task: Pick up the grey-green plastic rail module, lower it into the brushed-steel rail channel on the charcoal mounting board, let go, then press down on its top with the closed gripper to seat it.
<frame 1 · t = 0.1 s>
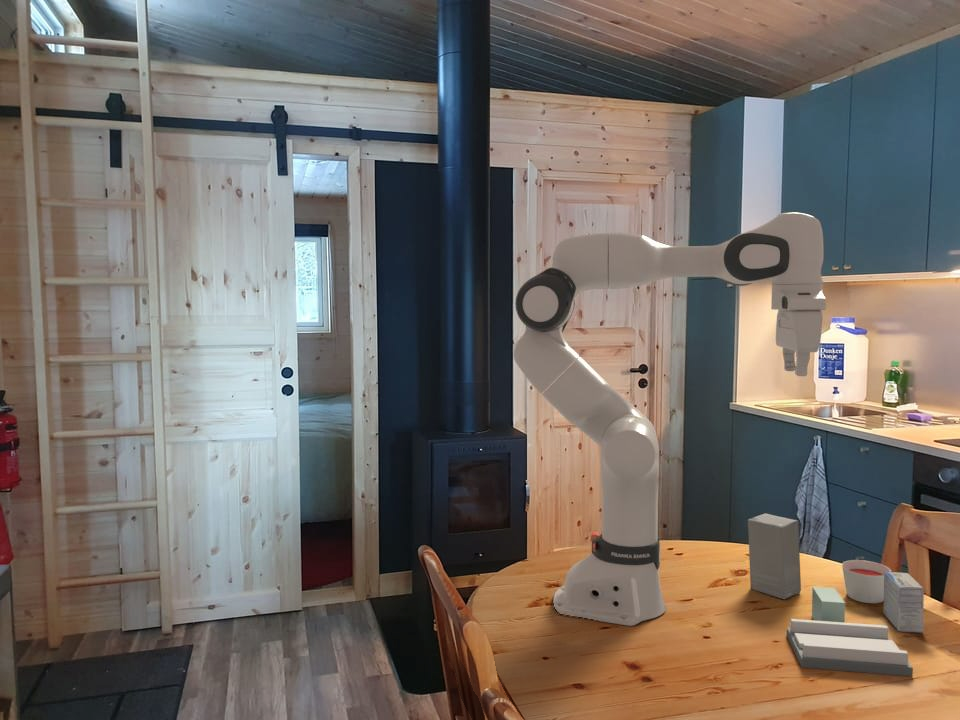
hand: (795, 373, 137), 48 cm above the table, tool pointing down, fingers open, 8 cm apart
medicine box: (902, 624, 138), on the table
rail board: (845, 654, 126), on the table
candle: (865, 598, 150), on the table
rail module: (827, 625, 138), on the table
skincare box: (773, 592, 154), on the table
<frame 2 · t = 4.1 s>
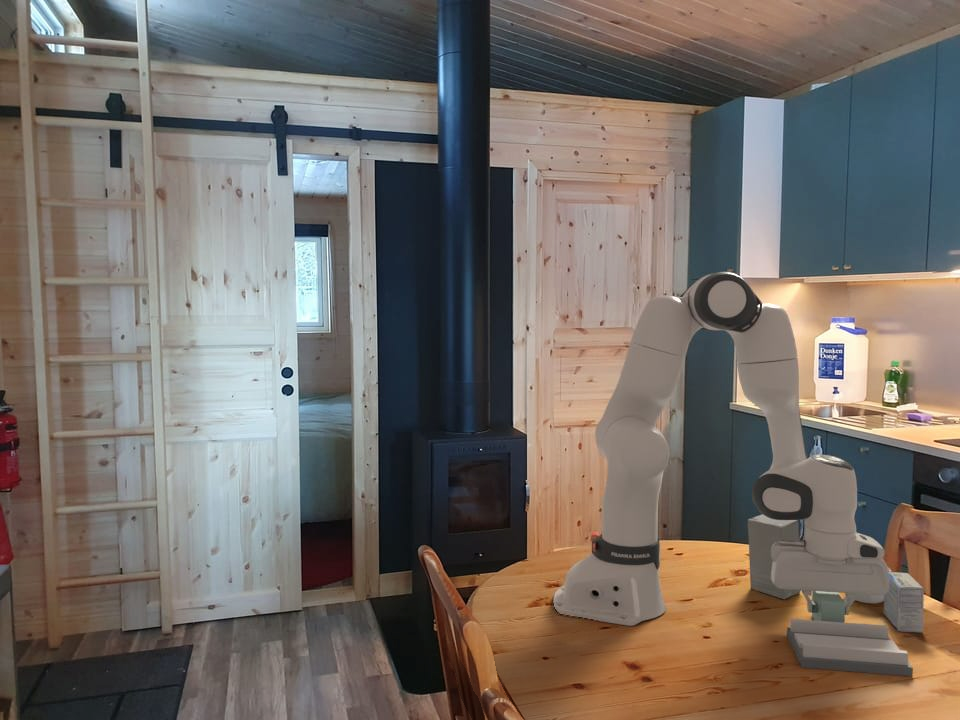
hand: (827, 612, 138), 2 cm above the table, tool pointing down, fingers closed on rail module, 4 cm apart
rail module: (827, 625, 138), on the table, touching gripper
everything else where it was.
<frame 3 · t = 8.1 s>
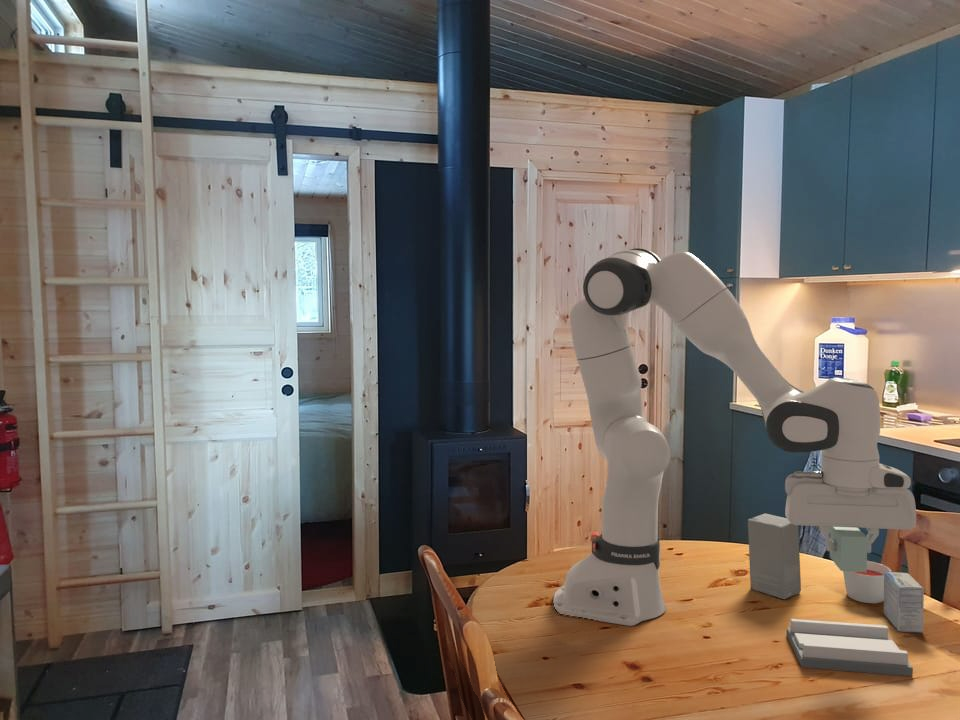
hand: (847, 551, 125), 18 cm above the table, tool pointing down, fingers closed on rail module, 4 cm apart
rail module: (847, 564, 126), point 16 cm above the table, touching gripper
everything else where it was.
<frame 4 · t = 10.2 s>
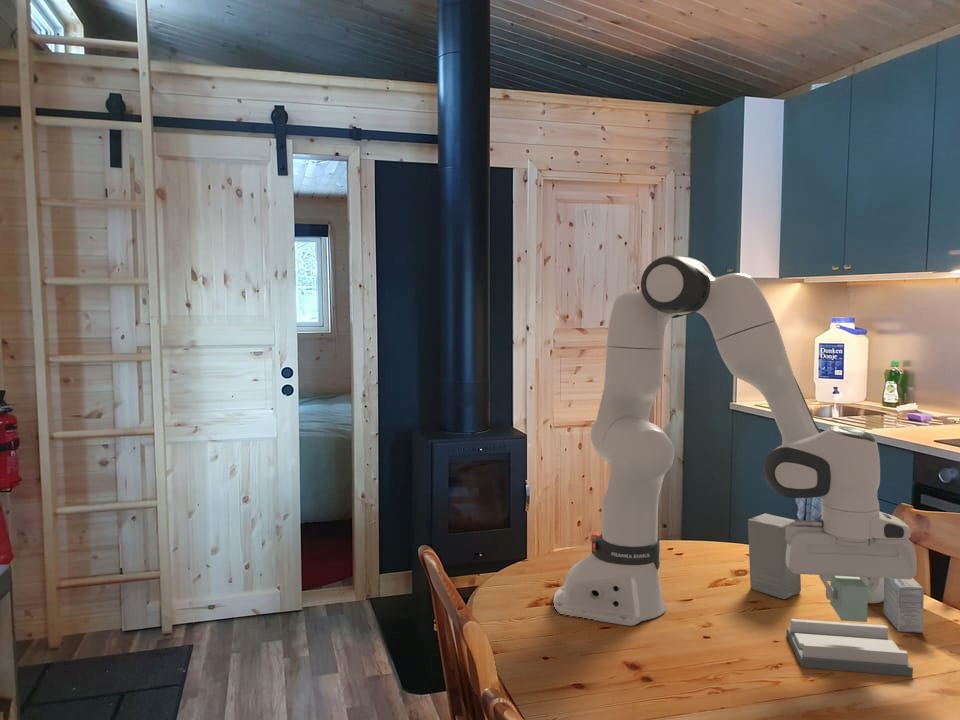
hand: (848, 599, 125), 10 cm above the table, tool pointing down, fingers closed on rail module, 4 cm apart
rail module: (848, 612, 126), point 8 cm above the table, touching gripper
everything else where it was.
when the fingers open (6 cm above the table, at t = 11.9 s): rail module drops 2 cm, resting on rail board.
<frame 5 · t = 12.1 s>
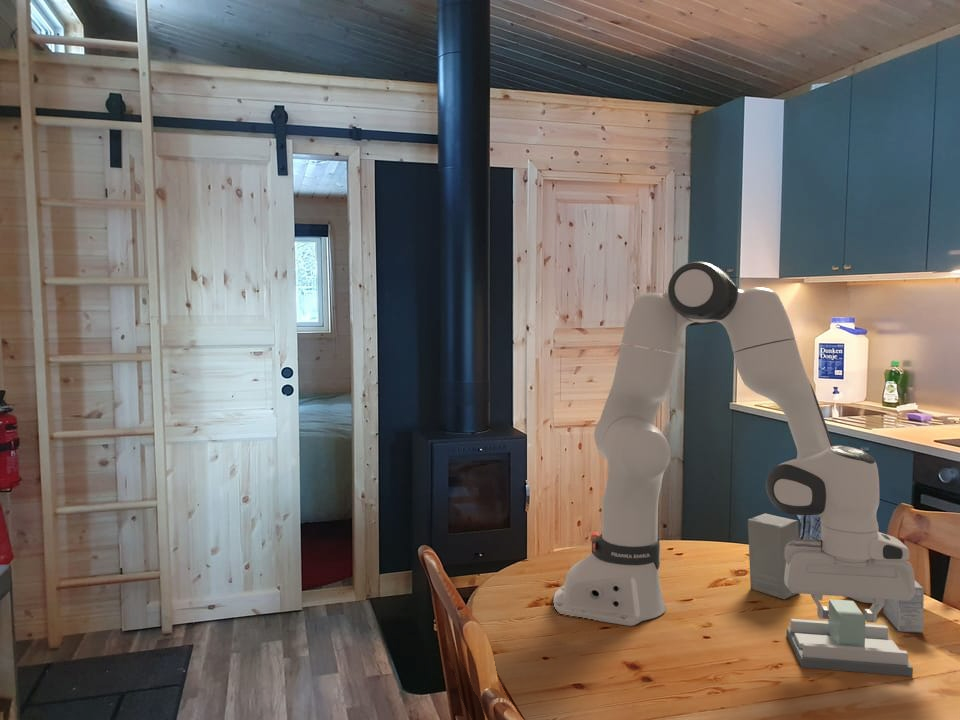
hand: (846, 619, 126), 6 cm above the table, tool pointing down, fingers open, 6 cm apart
rail module: (845, 641, 126), point 2 cm above the table, touching rail board
everything else where it was.
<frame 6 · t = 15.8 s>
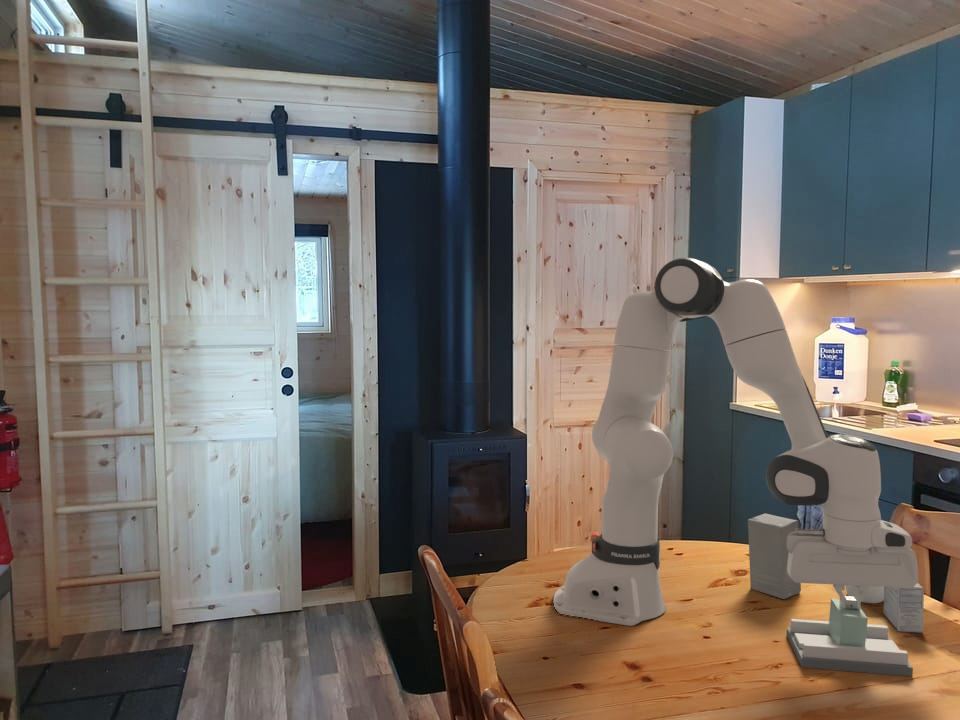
hand: (850, 608, 125), 8 cm above the table, tool pointing down, fingers closed, pressing on rail module
rail module: (845, 641, 126), point 2 cm above the table, touching gripper, rail board
everything else where it was.
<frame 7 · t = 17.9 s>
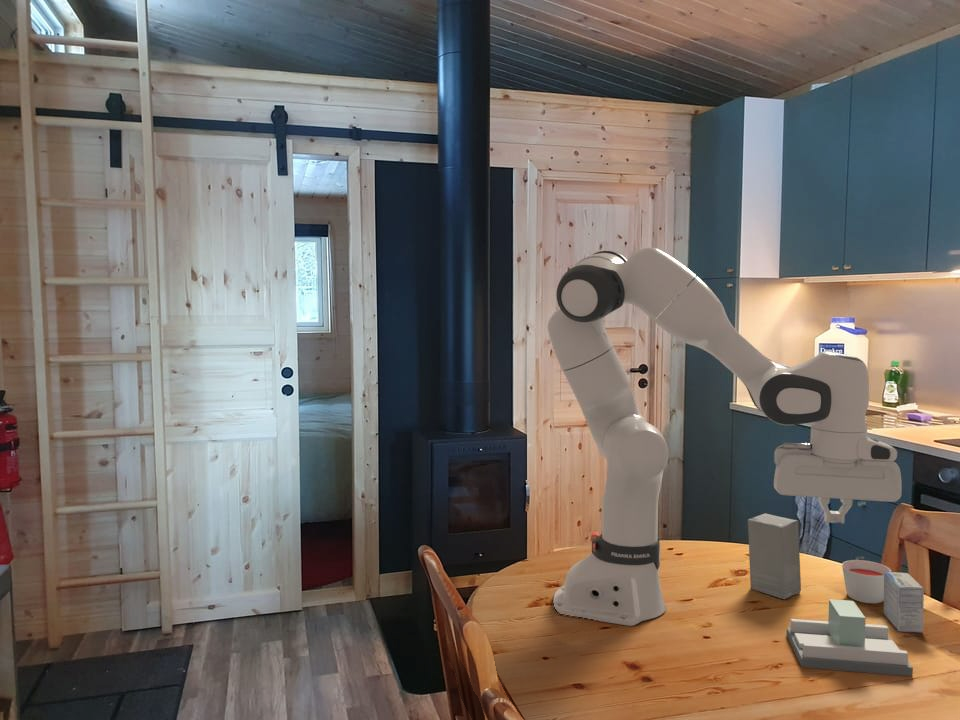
hand: (834, 522, 128), 23 cm above the table, tool pointing down, fingers closed
rail module: (845, 641, 126), point 2 cm above the table, touching rail board
everything else where it was.
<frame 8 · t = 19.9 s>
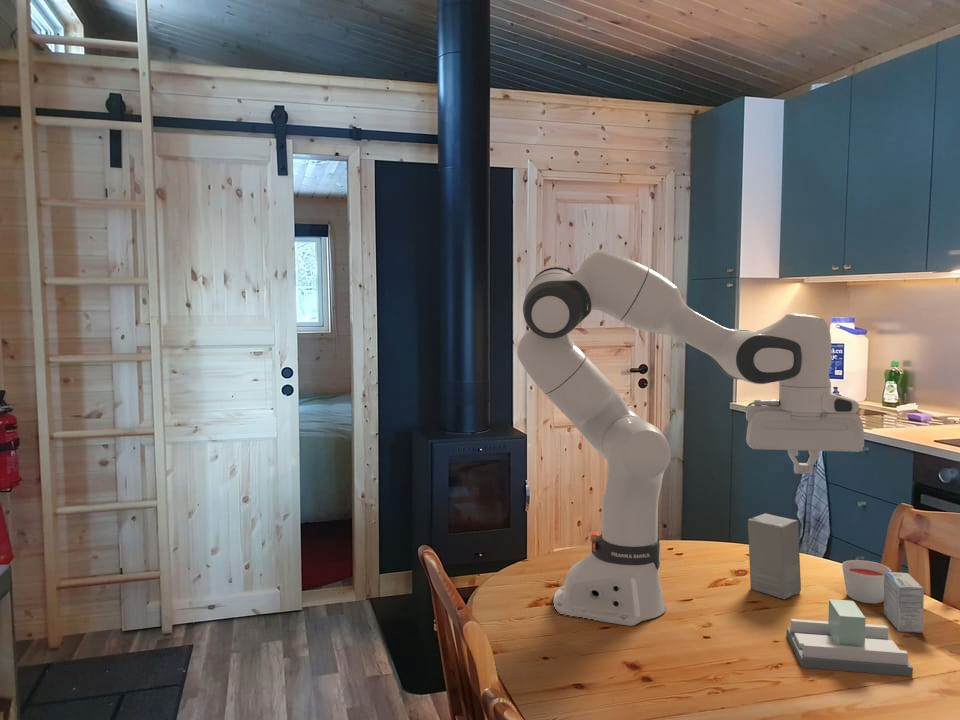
hand: (802, 473, 137), 29 cm above the table, tool pointing down, fingers closed
nothing on the table moved.
at the end: rail module inside the target area on the rail board (0.1 cm from its centre), point 2.3 cm above the rail board's base; rail module tilted 0°; the gripper is holding nothing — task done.
